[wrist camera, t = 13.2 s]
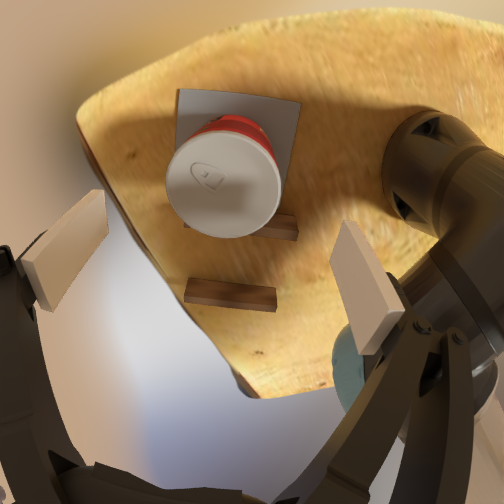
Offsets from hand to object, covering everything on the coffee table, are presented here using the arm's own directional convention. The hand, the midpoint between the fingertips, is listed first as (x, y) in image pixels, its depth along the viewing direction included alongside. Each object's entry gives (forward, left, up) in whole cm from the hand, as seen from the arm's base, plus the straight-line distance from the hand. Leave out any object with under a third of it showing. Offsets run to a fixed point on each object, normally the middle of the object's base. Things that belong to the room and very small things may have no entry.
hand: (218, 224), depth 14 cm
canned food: (0, 0, -16) cm, 16 cm away
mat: (0, 0, -16) cm, 16 cm away
